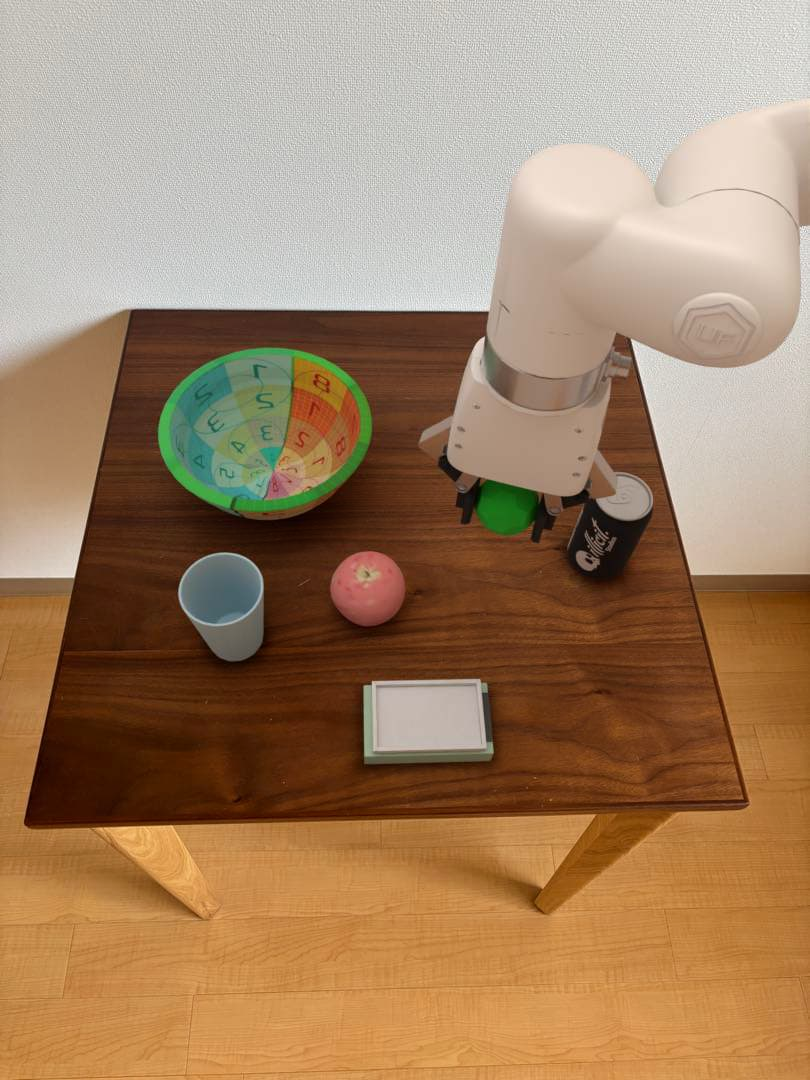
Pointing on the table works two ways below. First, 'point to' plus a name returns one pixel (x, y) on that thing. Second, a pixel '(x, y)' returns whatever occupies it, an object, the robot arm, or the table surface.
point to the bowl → (265, 432)
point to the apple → (368, 588)
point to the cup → (225, 604)
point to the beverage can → (610, 529)
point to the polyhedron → (506, 507)
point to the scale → (427, 721)
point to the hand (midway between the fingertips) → (503, 517)
